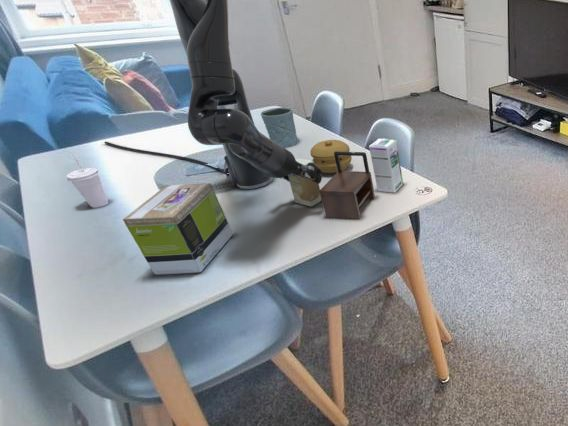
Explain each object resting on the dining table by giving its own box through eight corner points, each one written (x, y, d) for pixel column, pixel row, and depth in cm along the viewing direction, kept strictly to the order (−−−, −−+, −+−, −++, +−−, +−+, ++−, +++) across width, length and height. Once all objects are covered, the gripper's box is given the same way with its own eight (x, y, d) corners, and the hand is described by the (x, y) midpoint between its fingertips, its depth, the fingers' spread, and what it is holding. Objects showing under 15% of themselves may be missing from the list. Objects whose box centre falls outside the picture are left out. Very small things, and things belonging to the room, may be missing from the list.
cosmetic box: (294, 203, 119) (282, 162, 112) (306, 196, 122) (295, 156, 116) (312, 207, 116) (301, 166, 110) (324, 200, 120) (313, 160, 114)
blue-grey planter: (270, 150, 151) (260, 117, 145) (269, 140, 159) (260, 109, 153) (301, 145, 155) (292, 113, 149) (299, 136, 163) (291, 105, 157)
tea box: (191, 237, 104) (166, 183, 96) (234, 235, 105) (213, 181, 97) (152, 276, 91) (119, 217, 83) (201, 273, 92) (173, 215, 84)
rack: (326, 217, 112) (313, 169, 105) (344, 195, 122) (334, 150, 115) (359, 219, 111) (348, 170, 104) (375, 197, 122) (366, 151, 114)
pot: (328, 181, 130) (321, 150, 125) (307, 171, 136) (299, 141, 131) (361, 168, 138) (355, 139, 133) (340, 159, 144) (333, 131, 139)
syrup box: (395, 193, 124) (388, 146, 116) (376, 191, 125) (368, 144, 117) (403, 184, 128) (397, 139, 121) (385, 182, 129) (377, 137, 122)
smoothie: (120, 200, 119) (95, 154, 112) (94, 211, 114) (66, 164, 107) (104, 197, 121) (79, 151, 114) (78, 208, 116) (50, 160, 109)
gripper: (302, 143, 102) (333, 167, 118) (244, 141, 102) (283, 166, 118) (296, 173, 100) (329, 193, 116) (238, 171, 101) (278, 191, 117)
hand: (306, 179), depth 117 cm, fingers closed on cosmetic box, 7 cm apart
